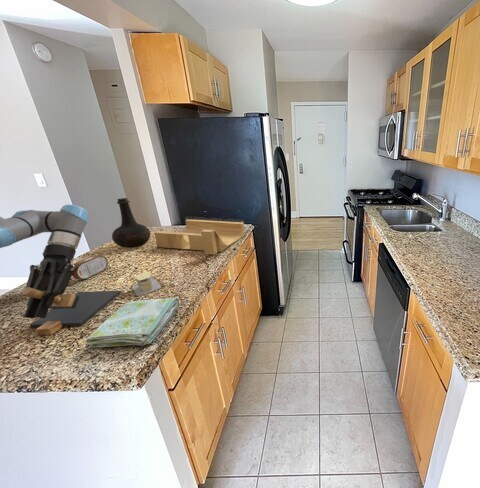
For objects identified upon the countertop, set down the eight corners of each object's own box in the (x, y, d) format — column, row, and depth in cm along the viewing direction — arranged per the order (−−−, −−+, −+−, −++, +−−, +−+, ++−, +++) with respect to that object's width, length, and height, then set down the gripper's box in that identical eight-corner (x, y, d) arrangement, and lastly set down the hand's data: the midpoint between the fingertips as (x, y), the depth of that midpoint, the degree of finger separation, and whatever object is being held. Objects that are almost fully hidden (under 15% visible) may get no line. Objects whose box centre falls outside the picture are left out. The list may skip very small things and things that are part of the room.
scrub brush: (50, 308, 89) (8, 297, 77) (55, 297, 91) (15, 284, 79) (75, 308, 89) (37, 297, 77) (79, 296, 91) (43, 284, 79)
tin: (105, 267, 127) (100, 251, 124) (111, 267, 127) (105, 251, 124) (74, 282, 113) (67, 265, 110) (80, 283, 113) (73, 265, 110)
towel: (85, 351, 77) (79, 337, 75) (131, 308, 96) (127, 296, 94) (149, 348, 77) (144, 335, 76) (181, 306, 97) (178, 294, 95)
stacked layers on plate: (162, 287, 110) (159, 276, 107) (137, 296, 104) (133, 284, 102) (155, 279, 116) (152, 268, 114) (131, 286, 110) (128, 275, 108)
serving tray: (30, 327, 86) (29, 324, 86) (79, 294, 105) (78, 291, 104) (81, 325, 87) (80, 322, 87) (121, 293, 106) (120, 290, 105)
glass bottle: (108, 249, 148) (91, 200, 137) (137, 238, 164) (124, 194, 153) (132, 253, 143) (116, 203, 132) (159, 241, 159) (148, 196, 148)
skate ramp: (245, 236, 170) (243, 212, 164) (214, 257, 137) (210, 228, 132) (190, 232, 176) (186, 209, 171) (149, 252, 144) (142, 224, 138)
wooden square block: (38, 335, 83) (35, 329, 82) (50, 326, 87) (47, 321, 86) (52, 334, 83) (49, 328, 82) (63, 326, 87) (60, 320, 86)
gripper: (93, 250, 93) (71, 318, 84) (48, 251, 92) (20, 319, 83) (76, 242, 86) (49, 315, 77) (27, 243, 85) (-6, 316, 76)
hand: (34, 317), depth 80 cm, fingers closed on scrub brush, 2 cm apart
